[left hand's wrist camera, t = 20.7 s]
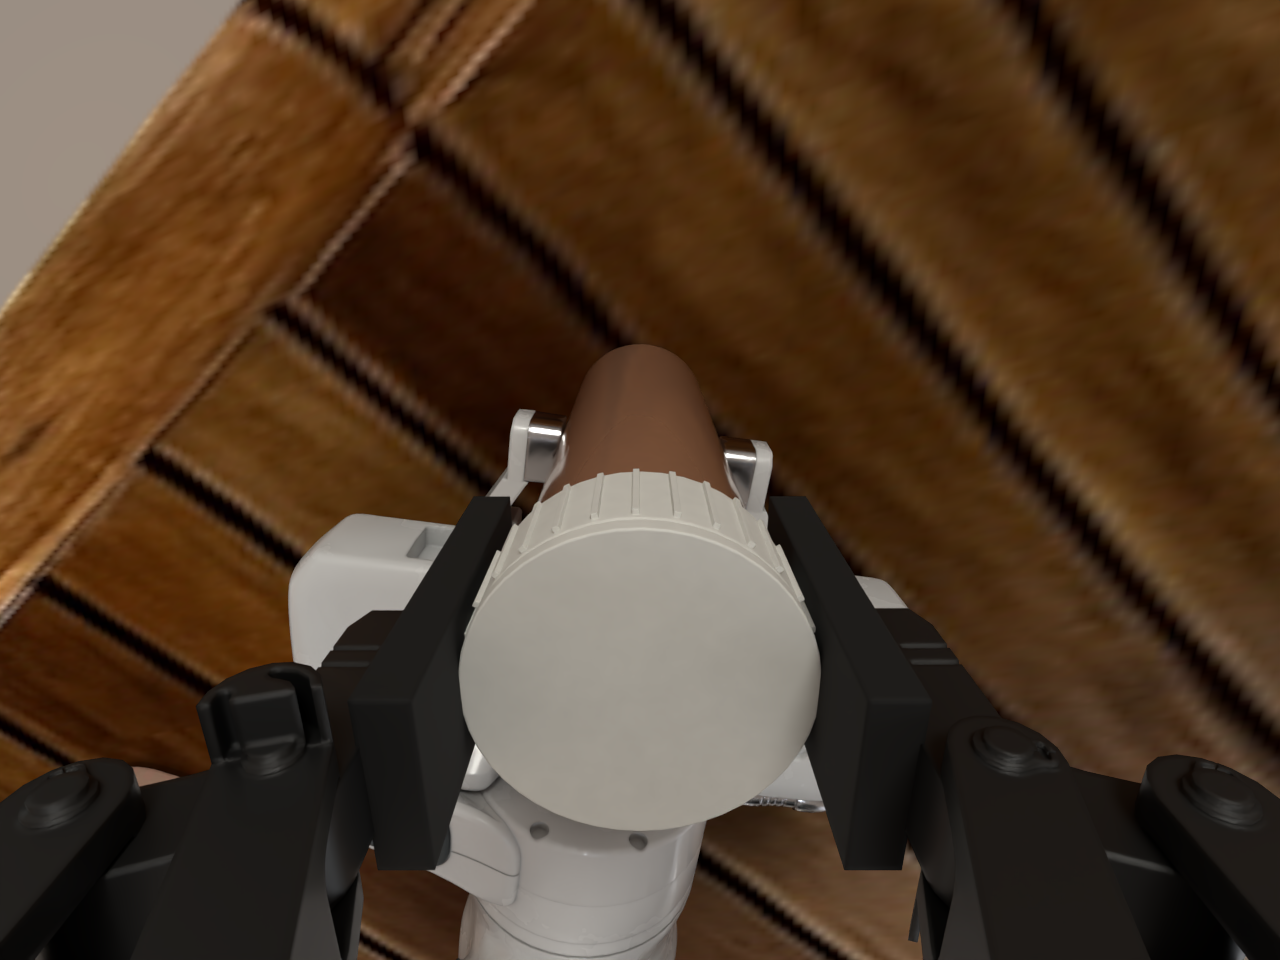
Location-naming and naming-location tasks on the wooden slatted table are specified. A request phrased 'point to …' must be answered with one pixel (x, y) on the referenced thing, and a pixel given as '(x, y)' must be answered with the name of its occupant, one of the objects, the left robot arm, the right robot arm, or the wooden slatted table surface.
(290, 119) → the wooden slatted table surface
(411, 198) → the wooden slatted table surface
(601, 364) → the brown bottle
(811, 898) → the wooden slatted table surface
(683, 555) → the lid
